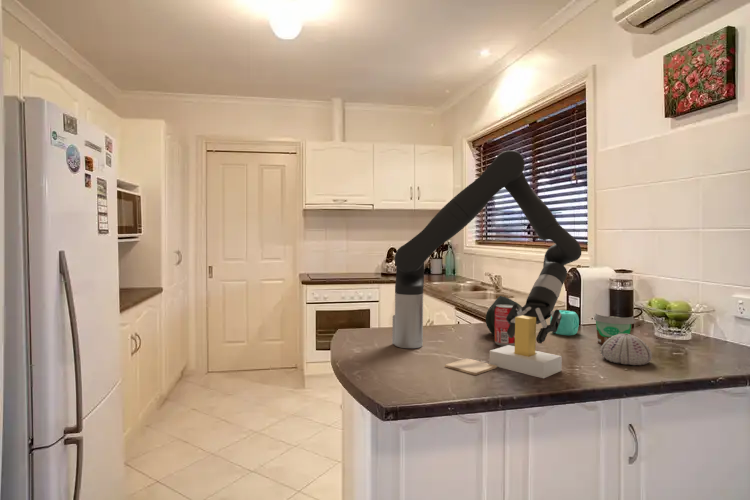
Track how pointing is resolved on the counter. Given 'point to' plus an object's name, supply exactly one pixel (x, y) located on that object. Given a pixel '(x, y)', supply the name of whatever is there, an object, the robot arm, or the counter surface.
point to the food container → (612, 326)
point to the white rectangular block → (526, 362)
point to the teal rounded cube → (567, 323)
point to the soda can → (503, 325)
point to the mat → (470, 366)
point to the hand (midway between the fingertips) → (523, 338)
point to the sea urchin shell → (626, 350)
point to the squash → (491, 312)
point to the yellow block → (525, 335)
